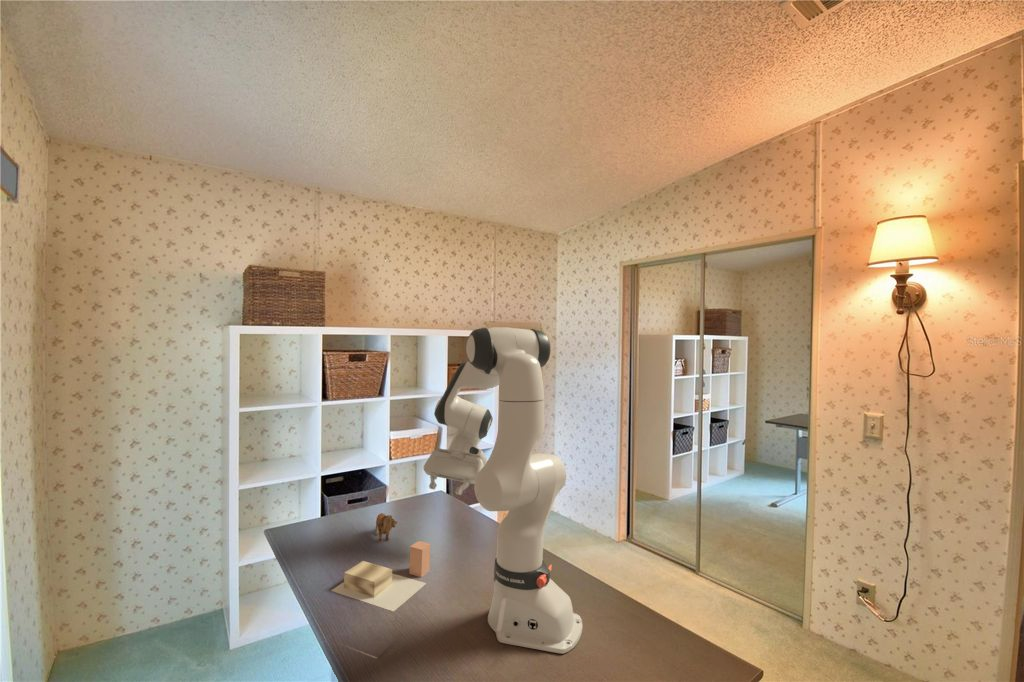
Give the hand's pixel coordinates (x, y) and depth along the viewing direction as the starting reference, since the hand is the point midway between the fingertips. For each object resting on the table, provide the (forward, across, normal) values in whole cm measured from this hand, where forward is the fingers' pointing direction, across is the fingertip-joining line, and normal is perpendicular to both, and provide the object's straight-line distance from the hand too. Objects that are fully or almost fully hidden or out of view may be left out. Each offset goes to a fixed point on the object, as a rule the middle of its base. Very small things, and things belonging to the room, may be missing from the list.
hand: (444, 491), depth 141 cm
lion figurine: (+14, -23, +15) cm, 30 cm away
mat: (+30, -5, -3) cm, 31 cm away
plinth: (+31, -8, -4) cm, 32 cm away
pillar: (+23, 0, +5) cm, 23 cm away
